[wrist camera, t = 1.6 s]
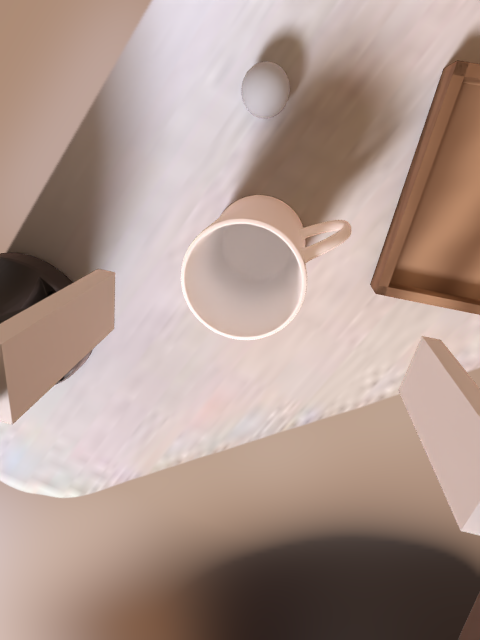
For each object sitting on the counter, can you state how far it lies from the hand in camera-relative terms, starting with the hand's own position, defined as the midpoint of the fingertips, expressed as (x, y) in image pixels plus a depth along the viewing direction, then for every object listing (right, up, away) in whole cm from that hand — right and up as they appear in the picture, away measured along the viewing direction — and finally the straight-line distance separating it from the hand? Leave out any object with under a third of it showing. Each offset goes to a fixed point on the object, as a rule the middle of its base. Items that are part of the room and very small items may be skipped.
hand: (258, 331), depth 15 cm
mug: (+3, +8, +18) cm, 20 cm away
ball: (+1, +18, +13) cm, 23 cm away
